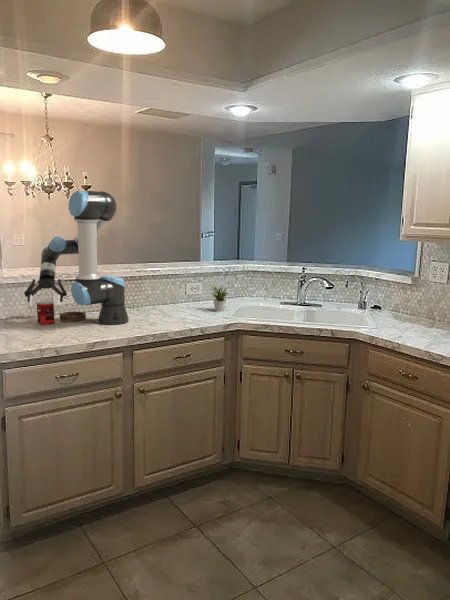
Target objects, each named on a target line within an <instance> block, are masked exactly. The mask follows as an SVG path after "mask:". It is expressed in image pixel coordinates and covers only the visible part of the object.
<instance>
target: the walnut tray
mask: <svg viewBox="0 0 450 600" xmlns="http://www.w3.org/2000/svg"><path fill="white" fill-rule="evenodd" d="M86 320H87V314H86V312H84V311H66V312H61V313H59V321H60V322H61V323H69V324H70V323H73V324H74V323H80V322H85V321H86Z"/></svg>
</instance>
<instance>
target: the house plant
mask: <svg viewBox="0 0 450 600" xmlns="http://www.w3.org/2000/svg"><path fill="white" fill-rule="evenodd" d="M221 285H222V284H220V285H219V288H218V287H217V285H216V284H214V285H213V286H212V285H210V287H211V288H209V289H211V291H213V292H211V293H210V295H211V296H212V297H213V298H215V299H213V305H214V311H215V312H217V311H223V312H225V308H226V302H227V299H225V297H226V298H228V292H226V291H227V289H228V288H229V287H230V285H228V286H227V287H226V288H224V285H222V286H221ZM223 289H224V290H223Z"/></svg>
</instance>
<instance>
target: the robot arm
mask: <svg viewBox="0 0 450 600" xmlns="http://www.w3.org/2000/svg"><path fill="white" fill-rule="evenodd" d="M117 206H118V205H117V202H116V199H115V198H114V196H113V195H112V194H110V193H109V192H108V191H107V192H106V191H101V190H99V191H98V190H97V191H96V190H76V191H74V192H72V194H71V196H70V197H69V201H68V210H69V214H70V215H71V216H73V218H74V219H73V220H74V222H76V224H77V234H76V237H74V239H65V238H63V237H60V236H54V237H53V238H52V239H51V240H50V241H49V243H48V245H47V246H46V247H44V248H43V249H42V251H41V258H40V259H41V261H40V269H39V279H38V280H36V279H32V281H31V283H30V285H29V286H28V288H27V289H25V291H24V293H23V295H24V297H27V302H28V304H29V305H28V307H29V309H30V310H32V308H33V307H32V306H33V297H34V295H36V294H37V293H38V292H39V291H41V290H42V289H43V290H45V289H46V290H47V289H48V290H49V289H51V290H54V292H55V293H56V294H57V296H58V297H57V308H58V309H60V308H61V303H63V301H64V297H67V296H68V294H67V291H66V289H65V287H64V286H63V284H62V280H61V279H60V278H58V280H57V279H56V271H57V270H56V268H57V267H56V266H57V260H58V259H59V257H61V256H63V255H78V274H77V275H76V276H75V281H74V282H73V283H72V284H71V286H70V293H71V296H72V299H73V300H74V302H75V303H76V304H77V305H79V306H81V307H82V306H90V305H97V304H101V306H100V311H99V314H98V317H97V322H98V323H99V324H101V325H123V324H126V323H128V322H129V315H128V312H127V309H126V304H125V303H126V301H125V300H126V299H125V295H126V293H125V287H126V286H125V285H126V284H125V279H123V278H122V277H120V276H109V275H102V276H100V275H99V274H98V241H97V240H98V239H97V238H98V236H97V235H98V233H99V232H100V231H101V230H102V229H103V227H104V226H105V225H106V224H107V222H110V221H112V219H113V218H114V217H115V215H116V213H117V209H118V207H117ZM55 284H57V285H58V287H59V288H60V289H59V288H57V286H56V285H55Z"/></svg>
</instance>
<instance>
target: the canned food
mask: <svg viewBox="0 0 450 600" xmlns="http://www.w3.org/2000/svg"><path fill="white" fill-rule="evenodd" d="M54 305H55V303H54V300H38V301H37V302H36V315H37V324H38V325H40V326H50V325H54V324H55V306H54Z"/></svg>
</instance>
